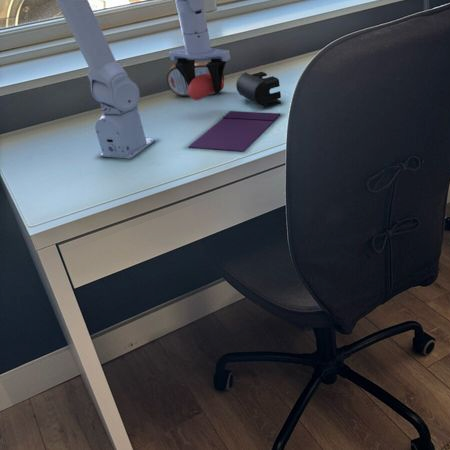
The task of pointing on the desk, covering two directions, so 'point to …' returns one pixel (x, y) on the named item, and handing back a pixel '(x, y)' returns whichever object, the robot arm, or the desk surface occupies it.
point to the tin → (178, 81)
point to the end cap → (259, 89)
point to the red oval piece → (201, 86)
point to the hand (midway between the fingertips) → (206, 90)
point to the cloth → (235, 131)
